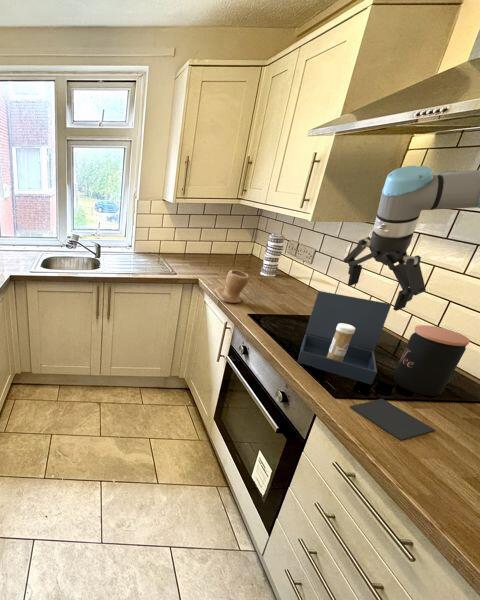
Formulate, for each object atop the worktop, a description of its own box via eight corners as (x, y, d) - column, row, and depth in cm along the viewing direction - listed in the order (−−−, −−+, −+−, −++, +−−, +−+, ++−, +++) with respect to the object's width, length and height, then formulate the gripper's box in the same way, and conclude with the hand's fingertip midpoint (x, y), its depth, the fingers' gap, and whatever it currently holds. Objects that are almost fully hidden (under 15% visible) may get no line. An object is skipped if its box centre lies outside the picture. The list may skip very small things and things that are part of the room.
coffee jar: (394, 371, 102) (417, 321, 95) (442, 387, 94) (471, 334, 88) (388, 384, 96) (412, 332, 89) (439, 402, 88) (469, 347, 81)
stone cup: (247, 305, 152) (253, 276, 146) (221, 304, 153) (226, 274, 147) (237, 294, 165) (243, 266, 160) (213, 293, 167) (218, 265, 161)
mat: (434, 431, 79) (435, 429, 78) (400, 441, 76) (401, 439, 75) (381, 399, 89) (382, 398, 89) (349, 407, 86) (350, 405, 86)
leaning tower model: (258, 274, 197) (267, 234, 187) (260, 271, 204) (269, 232, 194) (275, 277, 192) (285, 236, 182) (276, 273, 199) (287, 234, 189)
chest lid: (391, 304, 100) (391, 303, 101) (318, 290, 111) (318, 290, 112) (374, 350, 104) (374, 349, 105) (305, 333, 115) (305, 332, 116)
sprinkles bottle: (338, 366, 103) (352, 330, 98) (322, 359, 107) (335, 324, 102) (344, 362, 106) (358, 326, 100) (329, 356, 109) (341, 321, 104)
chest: (371, 384, 96) (377, 372, 94) (297, 362, 106) (300, 351, 105) (368, 362, 107) (373, 351, 105) (301, 344, 118) (305, 333, 116)
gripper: (335, 221, 89) (325, 279, 102) (435, 258, 69) (408, 326, 81) (359, 210, 89) (347, 270, 101) (467, 244, 69) (435, 314, 81)
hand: (374, 295), depth 91 cm, fingers open, 13 cm apart
